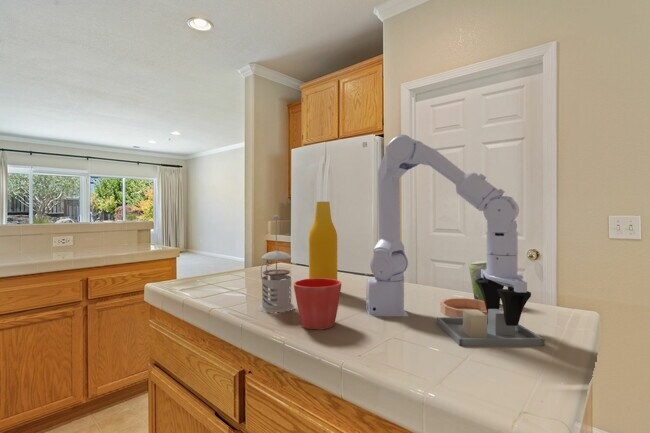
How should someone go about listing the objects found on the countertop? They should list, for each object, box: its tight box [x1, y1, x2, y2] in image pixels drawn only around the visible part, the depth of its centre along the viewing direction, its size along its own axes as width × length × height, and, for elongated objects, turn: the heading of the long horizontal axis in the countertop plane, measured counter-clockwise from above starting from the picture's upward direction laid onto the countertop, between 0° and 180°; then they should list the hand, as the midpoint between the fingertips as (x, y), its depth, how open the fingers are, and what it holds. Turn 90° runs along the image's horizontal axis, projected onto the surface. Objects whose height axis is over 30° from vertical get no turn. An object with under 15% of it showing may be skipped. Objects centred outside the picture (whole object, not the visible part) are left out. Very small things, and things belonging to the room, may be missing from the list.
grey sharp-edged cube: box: [488, 308, 515, 335], centre depth 70 cm, size 4×3×4 cm
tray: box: [436, 316, 546, 347], centre depth 70 cm, size 16×13×2 cm
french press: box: [258, 214, 295, 314], centre depth 91 cm, size 10×12×25 cm
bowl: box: [439, 297, 488, 317], centre depth 83 cm, size 12×12×3 cm
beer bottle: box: [308, 201, 338, 280], centre depth 108 cm, size 9×9×29 cm
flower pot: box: [293, 278, 342, 330], centre depth 77 cm, size 11×11×10 cm
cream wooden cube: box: [463, 310, 487, 338], centre depth 69 cm, size 4×3×4 cm
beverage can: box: [468, 260, 487, 301], centre depth 94 cm, size 6×7×12 cm
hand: (501, 319), depth 70 cm, fingers open, 7 cm apart
